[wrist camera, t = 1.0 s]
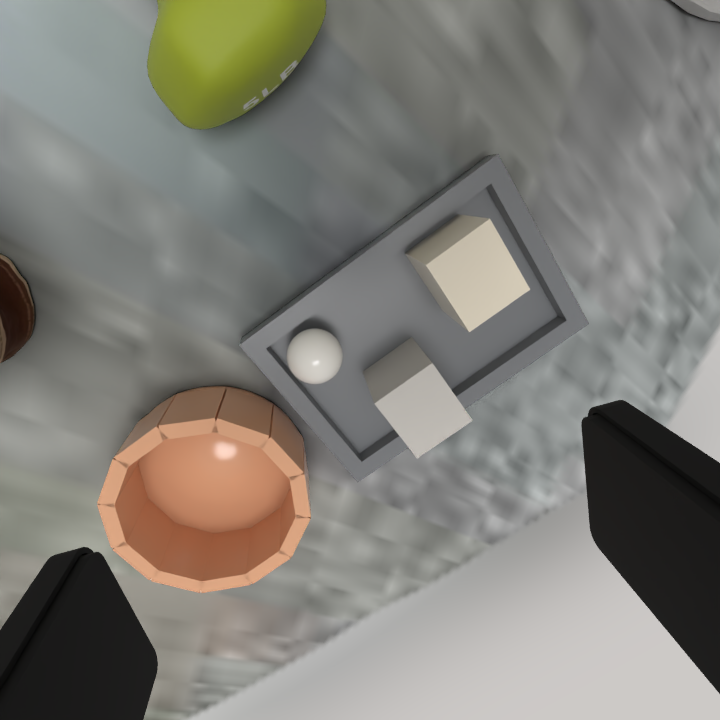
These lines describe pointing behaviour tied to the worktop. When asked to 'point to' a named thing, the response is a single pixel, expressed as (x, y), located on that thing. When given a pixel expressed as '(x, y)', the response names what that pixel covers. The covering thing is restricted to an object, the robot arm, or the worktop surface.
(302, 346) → the pebble
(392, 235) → the tray
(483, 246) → the cream cube
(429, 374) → the grey sharp-edged block
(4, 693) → the robot arm
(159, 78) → the dumbbell
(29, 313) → the coffee cup
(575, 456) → the worktop surface
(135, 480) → the bowl
